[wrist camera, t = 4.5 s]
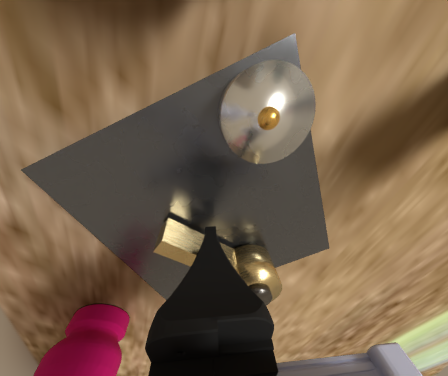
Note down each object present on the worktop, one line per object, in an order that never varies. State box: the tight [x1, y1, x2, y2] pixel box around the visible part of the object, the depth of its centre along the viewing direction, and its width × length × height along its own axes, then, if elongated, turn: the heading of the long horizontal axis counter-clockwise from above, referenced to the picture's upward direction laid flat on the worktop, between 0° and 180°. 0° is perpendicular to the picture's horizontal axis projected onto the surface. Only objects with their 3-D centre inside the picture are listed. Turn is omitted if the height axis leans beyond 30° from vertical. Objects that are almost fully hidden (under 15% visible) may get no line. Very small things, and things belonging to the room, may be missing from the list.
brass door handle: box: [153, 218, 282, 305], centre depth 14 cm, size 4×11×4 cm, turn 52°
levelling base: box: [21, 33, 329, 300], centre depth 14 cm, size 18×18×4 cm
